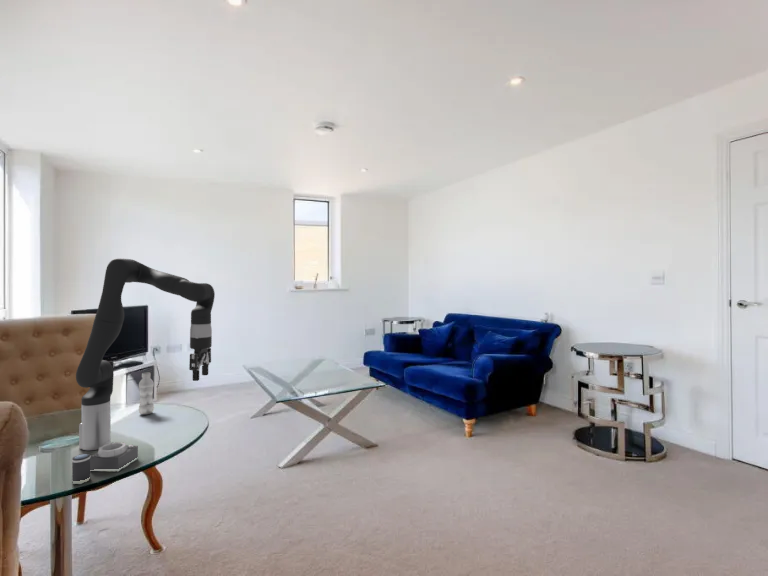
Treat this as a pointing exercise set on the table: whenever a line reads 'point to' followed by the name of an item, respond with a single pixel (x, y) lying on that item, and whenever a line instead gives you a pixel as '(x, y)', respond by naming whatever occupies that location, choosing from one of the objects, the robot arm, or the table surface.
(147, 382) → the plastic bottle
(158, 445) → the table surface
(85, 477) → the lens
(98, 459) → the camera body
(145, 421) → the table surface
